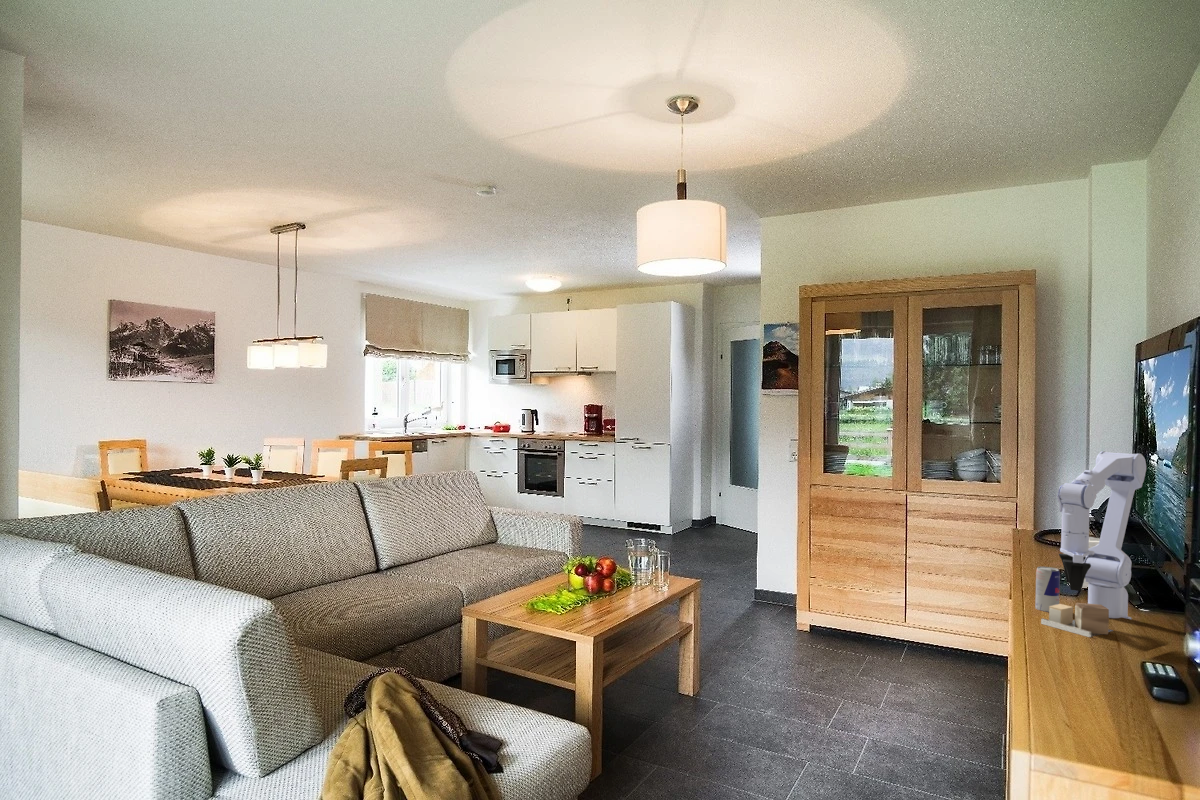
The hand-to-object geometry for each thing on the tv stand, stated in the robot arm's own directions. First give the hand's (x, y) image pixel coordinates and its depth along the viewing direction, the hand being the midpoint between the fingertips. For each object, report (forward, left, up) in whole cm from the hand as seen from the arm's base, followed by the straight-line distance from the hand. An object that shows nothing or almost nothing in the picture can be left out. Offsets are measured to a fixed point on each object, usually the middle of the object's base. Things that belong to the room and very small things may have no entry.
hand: (1073, 586), depth 178 cm
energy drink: (-7, -10, -11) cm, 16 cm away
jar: (-47, -21, -11) cm, 53 cm away
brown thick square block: (+2, +5, -9) cm, 11 cm away
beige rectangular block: (+2, -2, -9) cm, 10 cm away
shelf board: (+2, +2, -10) cm, 11 cm away
